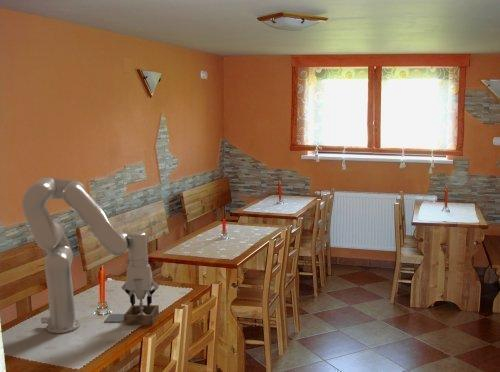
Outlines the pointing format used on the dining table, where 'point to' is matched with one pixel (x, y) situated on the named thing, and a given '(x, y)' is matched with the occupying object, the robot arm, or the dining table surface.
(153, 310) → the wooden tray
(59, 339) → the dining table surface
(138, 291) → the chalice
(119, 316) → the mat
